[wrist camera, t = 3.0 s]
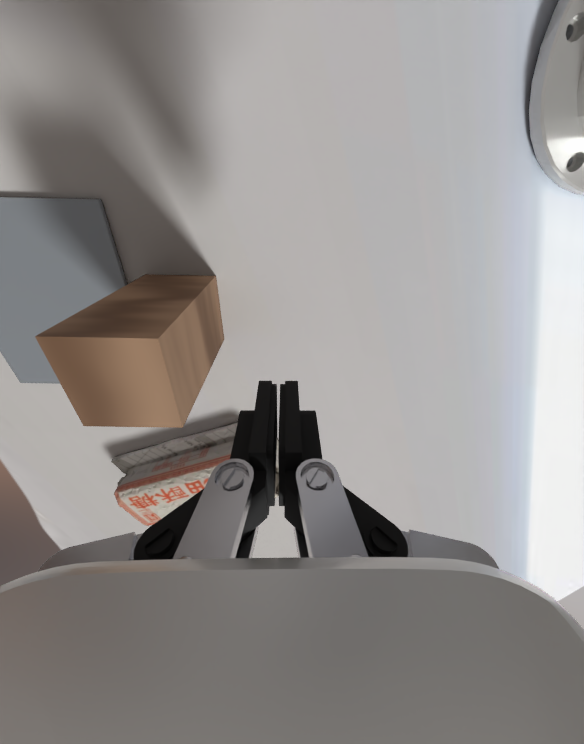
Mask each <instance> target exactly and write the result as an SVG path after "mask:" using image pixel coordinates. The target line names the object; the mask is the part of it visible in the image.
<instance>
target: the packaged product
mask: <svg viewBox="0 0 584 744" xmlns="http://www.w3.org/2000/svg"><path fill="white" fill-rule="evenodd" d="M237 423H238V422H237ZM237 423H234V424H231V425H229V426H225V427H220V428H217V429H213V430H209V431H205V432H201V433H197V434H193V435H190V436H186V437H181V438H177V439H173V440H170V441H166V442H163V443H161V444H158V445H156V446H151V447H148V448H145V449H141V450H138V451H134V452H130V453H126V454H123V455H120V456H117V457H115V458H113V459H112V461H111V462H112V463H114V464H115V465H116V466H117V467H118V468H119V469H120V470H121V471H122V472H123V473H125V474H126V476H125V477H122V478H121V479H120V481H119V482H118V487H117V489H116V491H115V493H114V495H115V497H116V500H117V502H118V505H119V506H120V507H123V508H124V509H125V511H127V512H129V513H130V514H131V515H132V516H133V517H134V518H135V519H136V520H138V521H140V522H141V523H142V524H143V525H146V526H149V525H153V524H155V523H156V522H158V521H159V520H160V519H162V518H163V517H165V516H166V515H167V514H169V513H170V512H172V511H173V510H174V509H176V508H177V507H179V506H180V505H181V504H183V503H184V502H186V501H187V500H188V499H190V498H191V497H193V496H194V495H196V494H197V493H198V492H200V491H201V490H203V489H204V488H205V486H206V484H207V482H208V479H209V477H210V475H211V473H212V471H213V470H214V468H215V467H216V466H217V465H219V464H220V463H222V462H223V461H225V460H229V459H230V456H231V451H232V446H233V442H234V437H235V433H236V428H237ZM278 448H279V441H278V439H277V454H276V481H275V498H276V497H277V496H279V464H278Z"/></svg>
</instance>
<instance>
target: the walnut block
mask: <svg viewBox="0 0 584 744" xmlns="http://www.w3.org/2000/svg"><path fill="white" fill-rule="evenodd" d="M35 338H36V340H37V341H38V343H39V345H40V347H41V349H42V351H43V352H44V354H45V356H46V358H47V360H48V362H49V363H50V365H51V367H52V369H53V371H54V373H55V374H56V376H57V378H58V380H59V382H60V383H61V385H62V387H63V389H64V391H65V393H66V394H67V396H68V398H69V400H70V402H71V404H72V405H73V407H74V409H75V411H76V413H77V415H78V416H79V418H80V420H81V422H82V424H83V426H115V427H179V428H183V426H184V424H185V422H186V420H187V418H188V415H189V413H190V411H191V409H192V407H193V405H194V403H195V400H196V398H197V396H198V394H199V392H200V390H201V388H202V385H203V383H204V381H205V379H206V377H207V375H208V373H209V371H210V368H211V366H212V364H213V362H214V360H215V358H216V356H217V353H218V351H219V349H220V347H221V345H222V343H223V341H224V334H223V326H222V319H221V311H220V303H219V295H218V288H217V280H216V276H198V275H147V274H145V275H144V276H142V277H140V278H138V279H136V280H135V281H133V282H131V283H129V284H128V285H126V286H124V287H122V288H120V289H119V290H117V291H115V292H113V293H111V294H110V295H108V296H106V297H104V298H103V299H101V300H99V301H97V302H95V303H94V304H92V305H90V306H88V307H86V308H85V309H83V310H81V311H79V312H78V313H76V314H74V315H72V316H70V317H69V318H67V319H65V320H63V321H61V322H60V323H58V324H56V325H54V326H53V327H51V328H49V329H47V330H45V331H44V332H42V333H40V334H38V335H36V336H35Z"/></svg>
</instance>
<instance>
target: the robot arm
mask: <svg viewBox="0 0 584 744" xmlns="http://www.w3.org/2000/svg"><path fill="white" fill-rule="evenodd" d="M529 122H530V137H531V141H532V145H533V148H534V152H535V156H536V159H537V160H538V162H539V164H540V166H541V167H542V169H543V171H544V172H545V174H546V175H547V176H548V177H549V178H550V179H551V180H552V181H553V182H554V183H556V184H557V185H558V186H559V187H561V188H563V189H565V190H568V191H570V192H572V193H574V194H580V195H584V0H559V1H558V3H557V5H556V7H555V10H554V13H553V15H552V18H551V20H550V23H549V26H548V28H547V31H546V34H545V36H544V39H543V42H542V44H541V47H540V51H539V55H538V59H537V63H536V67H535V71H534V75H533V79H532V87H531V96H530V105H529ZM276 454H277V384H272V381H259V385H258V392H257V399H256V405H255V411H240V414H239V419H238V423H237V428H236V433H235V437H234V442H233V446H232V451H231V456H230V459H229V460H225V461H223V462H222V463H220V464H219V465H217V466H216V467H215V468H214V470H213V471H212V473H211V475H210V477H209V479H208V482H207V484H206V486H205V488H204V489H203V490H201V491H200V492H198V493H197V494H196V495H194V496H193V497H191V498H190V499H188V500H187V501H186V502H184V503H183V504H181V505H180V506H179V507H177V508H176V509H174V510H173V511H172V512H170V513H169V514H167V515H166V516H165V517H163V518H162V519H160V520H159V521H158V522H156V523H155V524H153V525H152V526H151V527H149V528H148V529H147V530H146V531H145V532H144V533H142V534H138V535H136V534H135V532H132V533H128V534H124V535H120V536H115V537H111V538H107V539H102V540H98V541H94V542H90V543H85V544H81V545H77V546H73V547H69V548H66V549H63V550H61V551H59V552H57V553H56V554H54V555H53V556H51V557H50V558H49V559H48V560H47V561H46V562H45V563H44V564H43V565H42V566H41V567H40V569H39V570H38V572H36V573H33V574H30V575H27V576H24V577H21V578H19V579H16V580H14V581H11V582H9V583H7V584H4V585H2V586H0V744H584V629H583V628H582V627H581V626H580V625H579V623H578V622H577V621H576V620H575V619H574V618H573V617H572V616H571V614H570V613H568V611H567V610H566V609H565V608H564V607H563V606H562V605H560V604H559V603H558V602H557V601H556V600H555V599H554V598H553V597H552V596H550V595H549V594H547V593H546V592H544V591H543V590H542V589H540V588H538V587H537V586H535V585H533V584H531V583H529V582H527V581H525V580H524V579H522V578H519V577H517V576H515V575H513V574H510V573H508V572H506V571H503V570H500V569H499V568H498V566H497V564H496V562H495V561H494V560H493V558H492V557H491V556H490V555H489V554H488V553H487V552H486V551H484V550H483V549H481V548H480V547H478V546H476V545H473V544H471V543H467V542H463V541H458V540H454V539H449V538H445V537H440V536H436V535H431V534H427V533H423V532H418V531H414V530H409V532H404V531H400V530H399V529H398V528H397V527H396V526H395V525H394V524H393V523H391V522H390V521H389V520H387V519H386V518H385V517H383V516H382V515H381V514H380V513H378V512H377V511H376V510H374V509H373V508H372V507H370V506H369V505H368V504H366V503H365V502H364V501H362V500H361V499H360V498H358V497H357V496H356V495H354V494H353V493H352V492H350V491H349V490H348V489H346V488H345V487H344V486H343V485H342V483H341V480H340V477H339V474H338V472H337V470H336V469H335V467H334V466H333V465H332V464H331V463H329V462H327V461H326V460H322V454H321V446H320V439H319V432H318V425H317V418H316V412H315V411H300V410H299V395H298V381H285V384H280V415H279V448H278V464H279V506H285V518H286V519H287V520H288V521H289V522H290V523H291V524H292V525H293V526H294V534H295V540H296V546H297V552H298V558H252V555H253V550H254V546H255V542H256V537H257V533H258V525H260V524H261V523H262V522H263V521H264V520H265V519H266V518H267V515H269V506H274V505H275V481H276Z"/></svg>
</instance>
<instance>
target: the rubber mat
mask: <svg viewBox="0 0 584 744" xmlns="http://www.w3.org/2000/svg"><path fill="white" fill-rule="evenodd" d="M126 285H127V282H126V279H125V276H124V273H123V269H122V266H121V263H120V260H119V256H118V253H117V250H116V247H115V243H114V240H113V237H112V234H111V230H110V227H109V224H108V221H107V217H106V214H105V211H104V208H103V204H102V201H101V199H67V198H20V197H0V352H1V353H2V355H3V356H4V358H5V359H6V361H7V363H8V364H9V366H10V367H11V369H12V370H13V372H14V373H15V375H16V377H17V378H18V380H19V381H20V383H60V382H59V380H58V378H57V376H56V374H55V373H54V371H53V369H52V367H51V365H50V363H49V362H48V360H47V358H46V356H45V354H44V352H43V351H42V349H41V347H40V345H39V343H38V341H37V340H36V338H35V336H36V335H38V334H40V333H42V332H44V331H45V330H47V329H49V328H51V327H53V326H54V325H56V324H58V323H60V322H61V321H63V320H65V319H67V318H69V317H70V316H72V315H74V314H76V313H78V312H79V311H81V310H83V309H85V308H86V307H88V306H90V305H92V304H94V303H95V302H97V301H99V300H101V299H103V298H104V297H106V296H108V295H110V294H111V293H113V292H115V291H117V290H119V289H120V288H122V287H124V286H126Z"/></svg>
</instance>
